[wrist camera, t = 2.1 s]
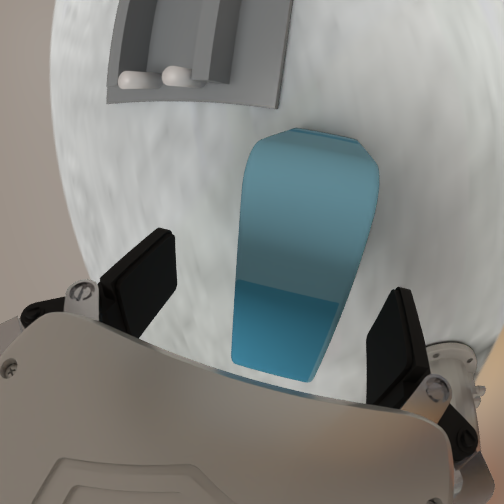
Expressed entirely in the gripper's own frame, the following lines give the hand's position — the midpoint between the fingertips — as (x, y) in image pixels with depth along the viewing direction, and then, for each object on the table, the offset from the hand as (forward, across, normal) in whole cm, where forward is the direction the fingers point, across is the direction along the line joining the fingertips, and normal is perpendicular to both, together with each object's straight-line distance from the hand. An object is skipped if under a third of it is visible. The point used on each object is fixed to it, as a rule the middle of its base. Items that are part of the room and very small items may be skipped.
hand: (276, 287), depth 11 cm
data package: (+12, -1, +1) cm, 12 cm away
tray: (+12, +11, -16) cm, 23 cm away
